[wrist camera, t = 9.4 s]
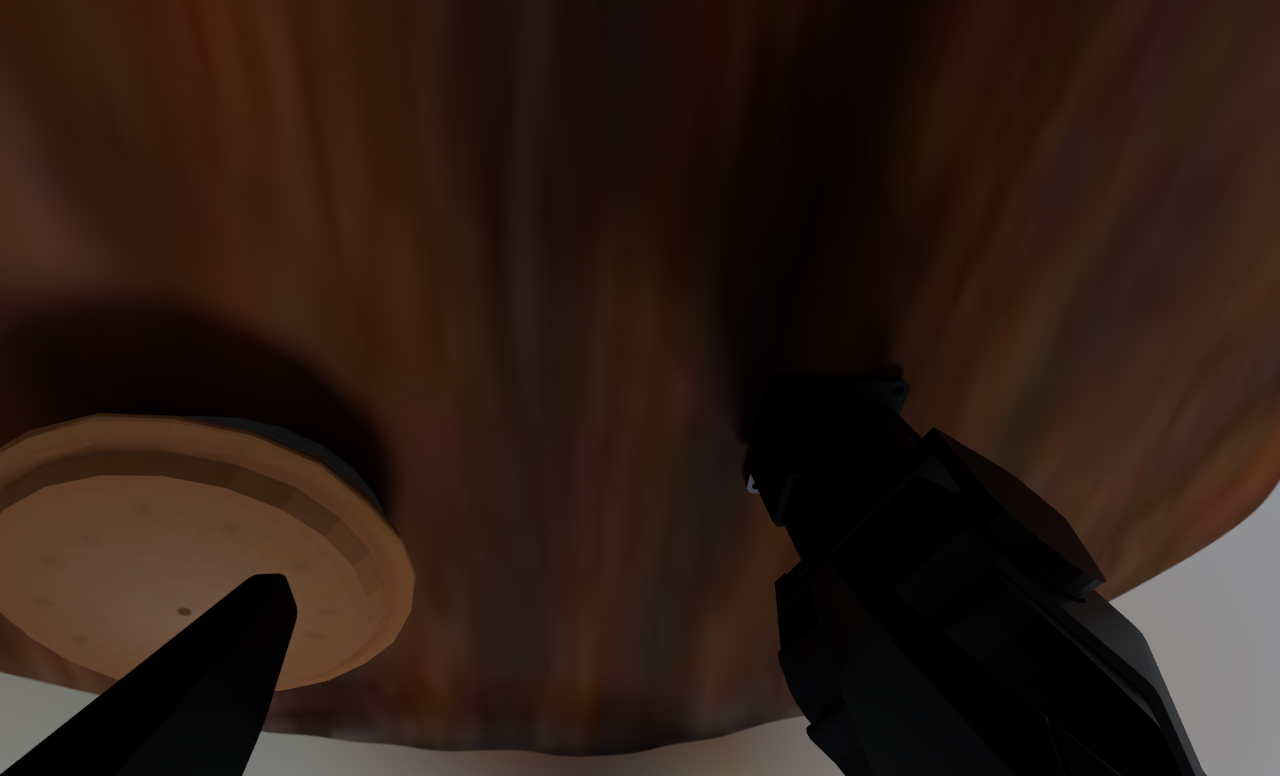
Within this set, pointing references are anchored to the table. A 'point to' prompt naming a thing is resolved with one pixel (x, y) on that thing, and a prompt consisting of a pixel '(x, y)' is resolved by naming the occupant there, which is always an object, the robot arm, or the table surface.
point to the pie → (192, 539)
